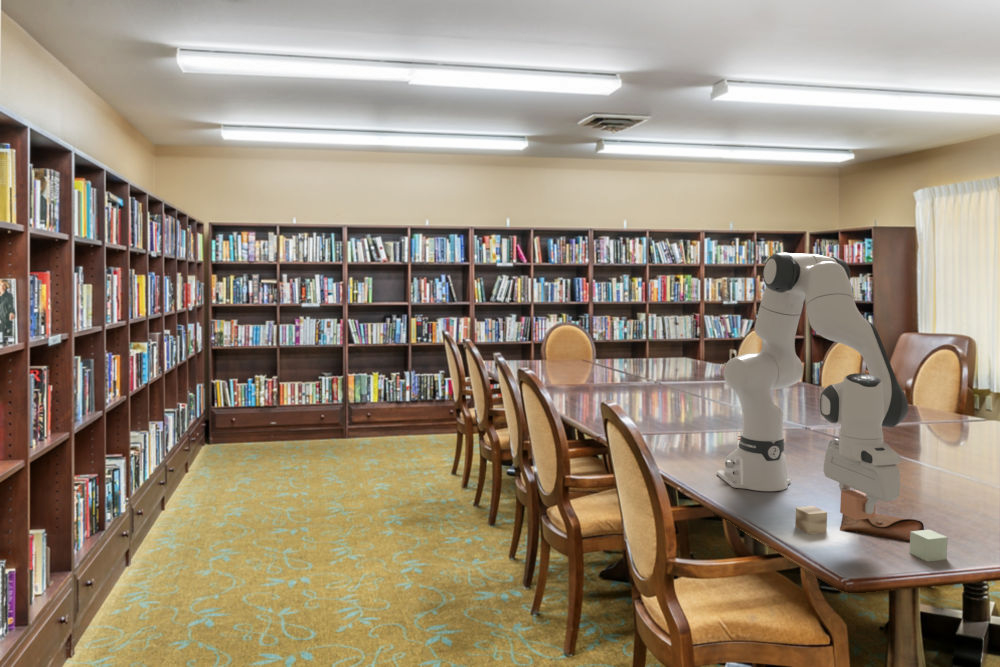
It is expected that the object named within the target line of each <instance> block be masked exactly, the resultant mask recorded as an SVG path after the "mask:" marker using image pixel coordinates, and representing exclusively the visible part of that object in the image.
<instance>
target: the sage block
mask: <svg viewBox="0 0 1000 667" xmlns="http://www.w3.org/2000/svg"><path fill="white" fill-rule="evenodd" d="M909 554H911V555H912V556H915V557H917V558H919V559H920V560H923V561H926V562H934V561H943V560H947V559H948V536H946V535H943V534H941V533H938V532H936V531H934V530H931V529H924V530H919V531H910V542H909Z"/></svg>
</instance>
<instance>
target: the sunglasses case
mask: <svg viewBox="0 0 1000 667" xmlns="http://www.w3.org/2000/svg"><path fill="white" fill-rule="evenodd" d="M924 527H925V526H924V523H923V521H921V520H918V519H913V518H903V517H895V516H890V515H886V514H885V515H884V514H878V513H875V518H871V519H861V520H854V519H852V518H850V517H848V516H846V515H844V514H842V517H841V523H840V526H839V531H841V532H846V533H847V532H848V533H855V534H862V535H869V536H874V537H880V538H884V537H885V539H890V540H898V541H902V542H907V543H910V531H919V530H925V528H924Z"/></svg>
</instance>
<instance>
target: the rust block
mask: <svg viewBox="0 0 1000 667" xmlns="http://www.w3.org/2000/svg"><path fill="white" fill-rule="evenodd" d="M867 500H868V499H867V498H866V494H865V493H863V492H861V491H858V490H856V489H850V490H848V491H841V490H840V507H839V508H840V510H839V512H840V513H841V514H842V515H843V514H844V515H846V516H848V517H850V518H852V519H854V520H861V519H871V518H875V514H876V505H877V503H876V504H875V506H874V512H873V513H872V514H867V513H865V512H863V511H862V509H863V504H866V502H867Z"/></svg>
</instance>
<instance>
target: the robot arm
mask: <svg viewBox="0 0 1000 667" xmlns="http://www.w3.org/2000/svg"><path fill="white" fill-rule="evenodd" d="M762 278H763V279H762V280H763V282H764V285H765V286H766V287H765V288H764V291H763V294H762V297H761V301H760V304H759V307H758V311H757V317H756V320H755V324H754V332H755V335H756V336H757V337H758V338H759V339H760V340H761V349H760V351H759V352H755V353H754V352H753V353H743V354H741V355H737V356H735V357H732V358H730V359H729V360H728V361H727V362H726V364H725V366H724V368H723V369H724V370H723V378H724V382H725V383H726V385H727V386H728V387H729V388H730V389H731V390H732V391H733V392H734V393H735V394H736V396H737V399H738V401H739V403H740V407H741V414H742V420H741V421H742V435H738V436H737V440H738V445H737V446H738V447H737V448H736V449H735V450H733V451H732V452H731V453H730V454H727V455H726V457H725V461H724V468H723V469H719V470H717V471H716V475H717V476H718V477H719V478H721V480H723V481H724V482H726V483H727V484H728V485H730V486H731V487H732V488H735V489H736V488H737V489H746V490H750V491H751V490H752V491H759V492H777V491H784V490H786V489H787V488H788V487H789V486H788V485H790V484H791V478H788V466H787V465H788V463H787V455H785V454H784V453H783V452H784V451H785V438H783V435H784V433H783V431H784V425H783V424H784V414H783V411H782V409H781V408H780V407H779V406H778V405H776V404H775V403H774V401H773V398H772V393H771V390H772V391H773V390H779V389H781V390H782V389H785V388H788V387H792V386H794V385H795V384H798V383H799V382H800V381H801V379H802V377H803V374H804V365H803V363H802V361H801V359H800V358H799V356H798V355H797V353H796V347H795V346H796V344H795V343H796V335H797V330H798V326H799V322H800V319H801V315H802V312H803V307H804V302H805V308H806V314H807V318H808V323H809V326H810V327H811V329H812V330H813V331H814V332H816V333H817V335H819V336H820V337H822V338H823V339H827V340H829V341H832V342H835V343H839V344H841V345H843V346H845V347H846V346H847V347H849V348H850V349H853V350H854V351H855V352H858V354H860V355H861V357H862V359H863V360H864V363H865V367H866V368H867V371H868V374H867V373H860V372H859V373H856V372H855V373H851V374H848V375H846V376H844V378H843V381H841V382H838V383H834V384H829V385H828V386H826V387H825V389H823V391H822V392H821V393H820V396H819V397H820V399H819V411H820V415H822V417H823V418H824V419H825V420H826V421H827V422H829V423H830V424H834V425H838V426H839V425H840V429H839V432H838V433H839V435H838V438H833V439H831V440H830V441H828V444H827V449H826V452H825V456H824V462H823V471H822V472H823V474H824V476H825V477H826V478H828V479H830V480H833V481H835V482H837V483H839V484H838V487H839V490H840V492H841V491H848V490H851V489H853V490H858V491H861V492H863V493H865V494H866V498H867V499H868V500H867V502H866V504H863V509H862V511H863V512H865V513H867V514H872V513H873V512H874V506H875V504H876V505H877V502H879V501H881V502H893V501H896V500H897V499H898V498H899V496H900V490H901V488H900V487H901V472H900V469H899V467H898V466H897V465H900V463H901V461H902V459H901V458H902V457H901V455H900V454H899V453H898V452H897V451H895V450H894V449H893V448H892V447H890V446H889V444H888V443H886V442H885V441H884V432H883V428H889V429H890V428H894V427H896V426H898V425H899V424H901V423H902V421H904V420H905V418H906V417H907V415H908V413H909V402H908V398H907V396H906V393H905V392H904V390H903V388H902V387H901V384H900V383H899V381H898V379H897V377H896V375H895V374H896V373H895V371H894V370H893V368H892V364H891V362H890V359H889V357H888V354H887V351H886V349H885V347H884V344H883V342H882V339H881V337H880V335H879V332H878V330H877V328H876V327H875V325H874V324H873V323H872V322H870V321H869V320H867V319H866V318H865V317H864V316H863V315H862V313H861V312H860V311H859V308H858V307H857V305H856V300H855V296H854V295H855V294H854V292H853V288H852V285H851V282H850V281H851V269H850V267H849V265H848V263H847V261H845V260H844V259H841V258H839V257H836V256H826V255H821V254H816V253H790V252H785V251H784V252H777V253H773V254H772V255H770V256H769V257H768V259H767V260H766V261H765V264H764V266H763V270H762ZM875 507H876V506H875Z"/></svg>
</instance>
